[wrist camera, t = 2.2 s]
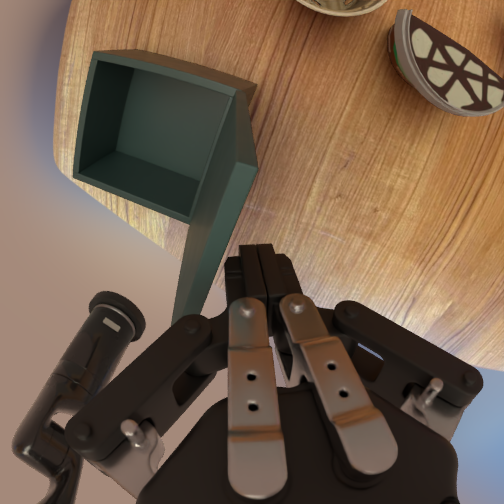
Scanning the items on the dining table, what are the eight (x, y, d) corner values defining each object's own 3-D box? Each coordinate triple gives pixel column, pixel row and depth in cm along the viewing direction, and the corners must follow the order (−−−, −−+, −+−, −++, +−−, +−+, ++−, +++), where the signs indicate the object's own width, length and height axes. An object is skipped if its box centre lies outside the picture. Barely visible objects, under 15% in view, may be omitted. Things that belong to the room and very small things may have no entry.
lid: (163, 374, 18) (176, 376, 18) (235, 161, 10) (259, 168, 10) (188, 228, 30) (196, 230, 30) (236, 89, 22) (245, 92, 22)
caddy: (113, 152, 36) (72, 177, 29) (137, 49, 29) (93, 51, 21) (216, 191, 37) (194, 226, 30) (257, 84, 30) (242, 90, 23)
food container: (356, 69, 27) (377, 70, 19) (377, 21, 24) (405, 5, 15) (452, 123, 28) (496, 148, 20) (472, 79, 24) (521, 91, 16)
